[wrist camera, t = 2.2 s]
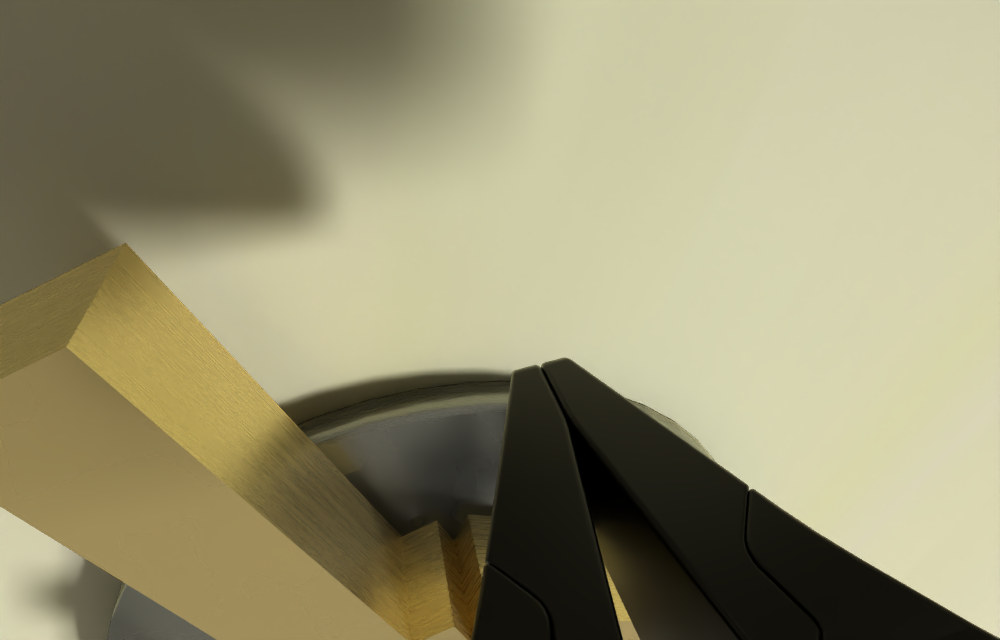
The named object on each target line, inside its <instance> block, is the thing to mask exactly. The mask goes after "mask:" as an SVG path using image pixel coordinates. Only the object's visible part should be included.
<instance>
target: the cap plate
mask: <svg viewBox="0 0 1000 640" xmlns="http://www.w3.org/2000/svg"><path fill="white" fill-rule="evenodd" d="M510 383H511V381H506V382H470V383H462V384H454V385H446V386H438V387H430V388H422V389H417V390H412V391H408V392H403V393H399V394H394V395H390V396H386V397H381V398H377V399H372V400H368V401H364V402H361V403H358V404H355V405H352V406H349V407H346V408H343V409H340V410H337V411H334V412H331V413H328V414H325V415H322V416H319V417H316V418H313V419H311V420H309V421H307V422H304V423H302V424H300V425H298V427H299V428H300V429H301V430H302V431H303V432H304V433H305V434H306V436H307V437H308V438H309V439H310V440H311V441H312V442H313V443H314V444H315V445H316V446H317V447H318V448H319V449H320V450H321V451H322V453H323V454H324V455H325V456H326V457H327V458H328V459H329V460H330V461H331V462H332V463H333V464H334V465H335V466H336V467H337V469H338V470H339V471H340V472H341V473H342V474H343V475H344V476H345V477H346V478H347V479H348V480H349V481H350V482H351V483H352V484H353V486H354V487H355V488H356V489H357V490H358V491H359V492H360V493H361V494H362V495H363V496H364V497H365V498H366V499H367V500H368V502H369V503H370V504H371V505H372V506H373V507H374V508H375V509H376V510H377V511H378V512H379V513H380V514H381V515H382V516H383V517H384V519H385V520H386V521H387V522H388V523H389V524H390V525H391V526H392V527H393V528H394V529H395V530H396V531H397V532H398V533H399V535H400V536H403V535H405V534H408V533H410V532H412V531H414V530H417V529H419V528H421V527H423V526H425V525H428V524H430V523H432V522H434V521H436V520H437V521H438V522H439V523H440V524H441V526H442V527H443V528H444V529H445V530H446V532H447V533H448V534H449V535H450V536H451V538H452V539H453V540H455V538H456V536H457V534H458V532H459V531H460V529H461V527H462V525H463V523H464V521H465V519H466V518H467V516H468V515H480V516H491V515H492V508H493V501H494V494H495V487H496V480H497V473H498V466H499V459H500V452H501V445H502V439H503V432H504V425H505V418H506V411H507V404H508V397H509V390H510ZM629 401H630V400H629ZM630 402H631V403H633V404H634V405H636V406H637V407H638V408H640V409H641V410H643V411H644V412H645V413H647V414H648V415H650V416H651V417H653V418H654V419H655V420H657V421H658V422H660V423H661V424H662V425H664V426H665V427H667V428H668V429H669V430H671V431H672V432H674V433H675V434H676V435H678V436H679V437H681V438H682V439H684V440H685V441H686V442H688V443H689V444H691V445H692V446H693V447H695V448H696V449H698V450H699V451H700V452H702V453H703V454H705V455H706V456H708V457H709V458H710V459H712V460H713V461H714V459H713V458H712V457H711V456H710V454H709V453H708V452H707V451H706V450H705V448H704V447H703V446H702V445H701V444H700V442H699V441H698V440H697V439H696V438H694V437H693V436H692V435H691V434H689V433H688V432H687V431H686V430H684V429H683V428H682V427H681V426H679V425H678V424H677V423H676V422H674V421H672V420H671V419H669V418H667V417H665V416H663V415H661V414H659V413H658V412H656V411H654V410H652V409H650V408H648V407H646V406H644V405H641V404H638V403H635V402H633V401H630ZM107 640H216V639H215V638H213V637H212V636H210V635H208V634H207V633H205V632H203V631H202V630H200V629H199V628H197V627H195V626H194V625H192V624H190V623H189V622H187V621H186V620H184V619H182V618H181V617H179V616H177V615H176V614H174V613H173V612H171V611H169V610H168V609H166V608H164V607H163V606H161V605H160V604H158V603H156V602H155V601H153V600H152V599H150V598H148V597H147V596H145V595H143V594H142V593H140V592H139V591H137V590H135V589H134V588H132V587H130V586H129V585H127V584H126V583H124V582H122V585H121V588H120V591H119V595H118V598H117V602H116V605H115V608H114V612H113V615H112V618H111V622H110V627H109V632H108V638H107Z"/></svg>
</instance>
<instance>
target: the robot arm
mask: <svg viewBox="0 0 1000 640" xmlns="http://www.w3.org/2000/svg"><path fill="white" fill-rule="evenodd" d="M485 563H486V565H484V567H483V574H482V581H481V588H480V594H479V600H478V605H477V611H476V616H475V622H474V627H473V633H472V637H471V640H623V637H622V633H621V629H620V625H619V622H618V618H617V614H616V610H615V606H614V602H613V598H612V594H611V590H610V586H609V582H608V578H607V574H606V570H605V566H606V568H607V571H608V573H609V575H610V577H611V579H612V581H613V583H614V585H615V588H616V590H617V592H618V594H619V596H620V598H621V600H622V602H623V605H624V607H625V609H626V611H627V613H628V615H629V617H630V619H631V622H632V624H633V626H634V628H635V630H636V632H637V634H638V636H639V639H640V640H1000V638H998V637H996V636H994V635H992V634H991V633H989V632H987V631H985V630H983V629H981V628H980V627H978V626H976V625H974V624H972V623H971V622H969V621H967V620H965V619H964V618H962V617H960V616H958V615H957V614H955V613H953V612H952V611H950V610H948V609H946V608H945V607H943V606H941V605H939V604H938V603H936V602H934V601H933V600H931V599H929V598H927V597H926V596H924V595H922V594H920V593H919V592H917V591H915V590H914V589H912V588H910V587H908V586H907V585H905V584H903V583H901V582H900V581H898V580H896V579H894V578H893V577H891V576H889V575H888V574H886V573H884V572H882V571H881V570H879V569H877V568H875V567H874V566H872V565H870V564H869V563H867V562H865V561H863V560H862V559H860V558H858V557H857V556H855V555H853V554H852V553H850V552H848V551H847V550H845V549H844V548H842V547H840V546H839V545H837V544H835V543H834V542H832V541H830V540H829V539H827V538H825V537H824V536H822V535H820V534H819V533H817V532H816V531H814V530H813V529H811V528H810V527H808V526H807V525H805V524H804V523H802V522H801V521H799V520H798V519H796V518H795V517H793V516H792V515H790V514H789V513H787V512H786V511H784V510H783V509H781V508H780V507H778V506H777V505H776V504H774V503H773V502H771V501H770V500H768V499H767V498H766V497H764V496H763V495H761V494H760V493H759V492H757V491H756V490H754V489H751V490H749V486H748V485H747V484H746V483H744V482H743V481H741V480H740V479H739V478H737V477H736V476H734V475H733V474H731V473H730V472H729V471H727V470H726V469H724V468H723V467H722V466H720V465H719V464H717V463H716V462H715V461H713V460H712V459H710V458H709V457H708V456H706V455H705V454H703V453H702V452H700V451H699V450H698V449H696V448H695V447H693V446H692V445H691V444H689V443H688V442H686V441H685V440H684V439H682V438H681V437H679V436H678V435H676V434H675V433H674V432H672V431H671V430H669V429H668V428H667V427H665V426H664V425H662V424H661V423H660V422H658V421H657V420H655V419H654V418H653V417H651V416H650V415H648V414H647V413H645V412H644V411H643V410H641V409H640V408H638V407H637V406H636V405H634V404H633V403H631V402H630V401H629V400H627V399H626V398H624V397H623V396H621V395H620V394H619V393H617V392H616V391H614V390H613V389H612V388H610V387H609V386H607V385H606V384H605V383H603V382H602V381H600V380H599V379H598V378H596V377H595V376H593V375H592V374H590V373H589V372H588V371H586V370H585V369H583V368H582V367H581V366H579V365H578V364H576V363H575V362H574V361H572V360H571V359H569V358H561V359H557V360H553V361H549V362H545V363H543V364H542V366H541V368H540V367H539V366H537V365H533V366H530V367H526V368H522V369H518V370H515V371H514V372H513V373H512V376H511V383H510V390H509V397H508V404H507V411H506V418H505V425H504V432H503V439H502V445H501V452H500V459H499V466H498V473H497V480H496V487H495V494H494V501H493V508H492V515H491V521H490V528H489V535H488V542H487V549H486V556H485ZM604 564H605V566H604Z"/></svg>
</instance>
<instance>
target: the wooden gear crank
mask: <svg viewBox="0 0 1000 640" xmlns="http://www.w3.org/2000/svg"><path fill="white" fill-rule="evenodd" d="M0 507H2V508H4V509H5V510H7V511H9V512H10V513H12V514H13V515H15V516H17V517H18V518H20V519H22V520H23V521H25V522H26V523H28V524H30V525H31V526H33V527H35V528H36V529H38V530H39V531H41V532H43V533H44V534H46V535H48V536H49V537H51V538H52V539H54V540H56V541H57V542H59V543H61V544H62V545H64V546H65V547H67V548H69V549H70V550H72V551H74V552H75V553H77V554H78V555H80V556H82V557H83V558H85V559H87V560H88V561H90V562H91V563H93V564H95V565H96V566H98V567H100V568H101V569H103V570H104V571H106V572H108V573H109V574H111V575H113V576H114V577H116V578H117V579H119V580H121V581H122V582H124V583H126V584H127V585H129V586H130V587H132V588H134V589H135V590H137V591H139V592H140V593H142V594H143V595H145V596H147V597H148V598H150V599H152V600H153V601H155V602H156V603H158V604H160V605H161V606H163V607H164V608H166V609H168V610H169V611H171V612H173V613H174V614H176V615H177V616H179V617H181V618H182V619H184V620H186V621H187V622H189V623H190V624H192V625H194V626H195V627H197V628H199V629H200V630H202V631H203V632H205V633H207V634H208V635H210V636H212V637H213V638H215V639H216V640H471V637H472V633H473V627H474V622H475V616H476V611H477V605H478V600H479V594H480V588H481V581H482V574H483V567H484V565H486V563H485V556H486V549H487V542H488V535H489V528H490V521H491V516H480V515H468V516H467V518H466V519H465V521H464V523H463V525H462V527H461V529H460V531H459V532H458V534H457V536H456V538H455V540H453V539H452V538H451V536H450V535H449V534H448V533H447V532H446V530H445V529H444V528H443V527H442V526H441V524H440V523H439V522H438V521H437V520H436V521H434V522H432V523H430V524H428V525H425V526H423V527H421V528H419V529H417V530H414V531H412V532H410V533H408V534H405V535H403V536H400V535H399V533H398V532H397V531H396V530H395V529H394V528H393V527H392V526H391V525H390V524H389V523H388V522H387V521H386V520H385V519H384V517H383V516H382V515H381V514H380V513H379V512H378V511H377V510H376V509H375V508H374V507H373V506H372V505H371V504H370V503H369V502H368V500H367V499H366V498H365V497H364V496H363V495H362V494H361V493H360V492H359V491H358V490H357V489H356V488H355V487H354V486H353V484H352V483H351V482H350V481H349V480H348V479H347V478H346V477H345V476H344V475H343V474H342V473H341V472H340V471H339V470H338V469H337V467H336V466H335V465H334V464H333V463H332V462H331V461H330V460H329V459H328V458H327V457H326V456H325V455H324V454H323V453H322V451H321V450H320V449H319V448H318V447H317V446H316V445H315V444H314V443H313V442H312V441H311V440H310V439H309V438H308V437H307V436H306V434H305V433H304V432H303V431H302V430H301V429H300V428H299V427H298V426H297V425H296V424H295V423H294V422H293V421H292V420H291V418H290V417H289V416H288V415H287V414H286V413H285V412H284V411H283V410H282V409H281V408H280V407H279V406H278V405H277V404H276V403H275V401H274V400H273V399H272V398H271V397H270V396H269V395H268V394H267V393H266V392H265V391H264V390H263V389H262V388H261V387H260V385H259V384H258V383H257V382H256V381H255V380H254V379H253V378H252V377H251V376H250V375H249V374H248V373H247V372H246V371H245V370H244V368H243V367H242V366H241V365H240V364H239V363H238V362H237V361H236V360H235V359H234V358H233V357H232V356H231V355H230V354H229V352H228V351H227V350H226V349H225V348H224V347H223V346H222V345H221V344H220V343H219V342H218V341H217V340H216V339H215V338H214V336H213V335H212V334H211V333H210V332H209V331H208V330H207V329H206V328H205V327H204V326H203V325H202V324H201V323H200V322H199V321H198V319H197V318H196V317H195V316H194V315H193V314H192V313H191V312H190V311H189V310H188V309H187V308H186V307H185V306H184V305H183V303H182V302H181V301H180V300H179V299H178V298H177V297H176V296H175V295H174V294H173V293H172V292H171V291H170V290H169V289H168V288H167V286H166V285H165V284H164V283H163V282H162V281H161V280H160V279H159V278H158V277H157V276H156V275H155V274H154V273H153V272H152V270H151V269H150V268H149V267H148V266H147V265H146V264H145V263H144V262H143V261H142V260H141V259H140V258H139V257H138V256H137V255H136V253H135V252H134V251H133V250H132V249H131V248H130V247H129V246H128V245H127V244H126V243H124V244H122V245H120V246H118V247H116V248H114V249H112V250H110V251H108V252H106V253H104V254H102V255H100V256H98V257H96V258H94V259H92V260H90V261H88V262H86V263H84V264H82V265H80V266H78V267H76V268H74V269H72V270H70V271H68V272H66V273H64V274H62V275H60V276H58V277H56V278H54V279H52V280H50V281H48V282H46V283H44V284H42V285H40V286H38V287H36V288H34V289H32V290H30V291H28V292H26V293H24V294H22V295H20V296H18V297H16V298H14V299H12V300H10V301H8V302H6V303H4V304H2V305H0ZM604 566H605V564H604ZM605 570H606V574H607V578H608V582H609V586H610V590H611V594H612V598H613V602H614V606H615V610H616V614H617V618H618V622H619V625H620V629H621V633H622V637H623V640H640V639H639V636H638V634H637V632H636V630H635V628H634V626H633V624H632V622H631V619H630V617H629V615H628V613H627V611H626V609H625V607H624V605H623V602H622V600H621V598H620V596H619V594H618V592H617V590H616V588H615V585H614V583H613V581H612V579H611V577H610V575H609V573H608V571H607V568H606V566H605Z"/></svg>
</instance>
